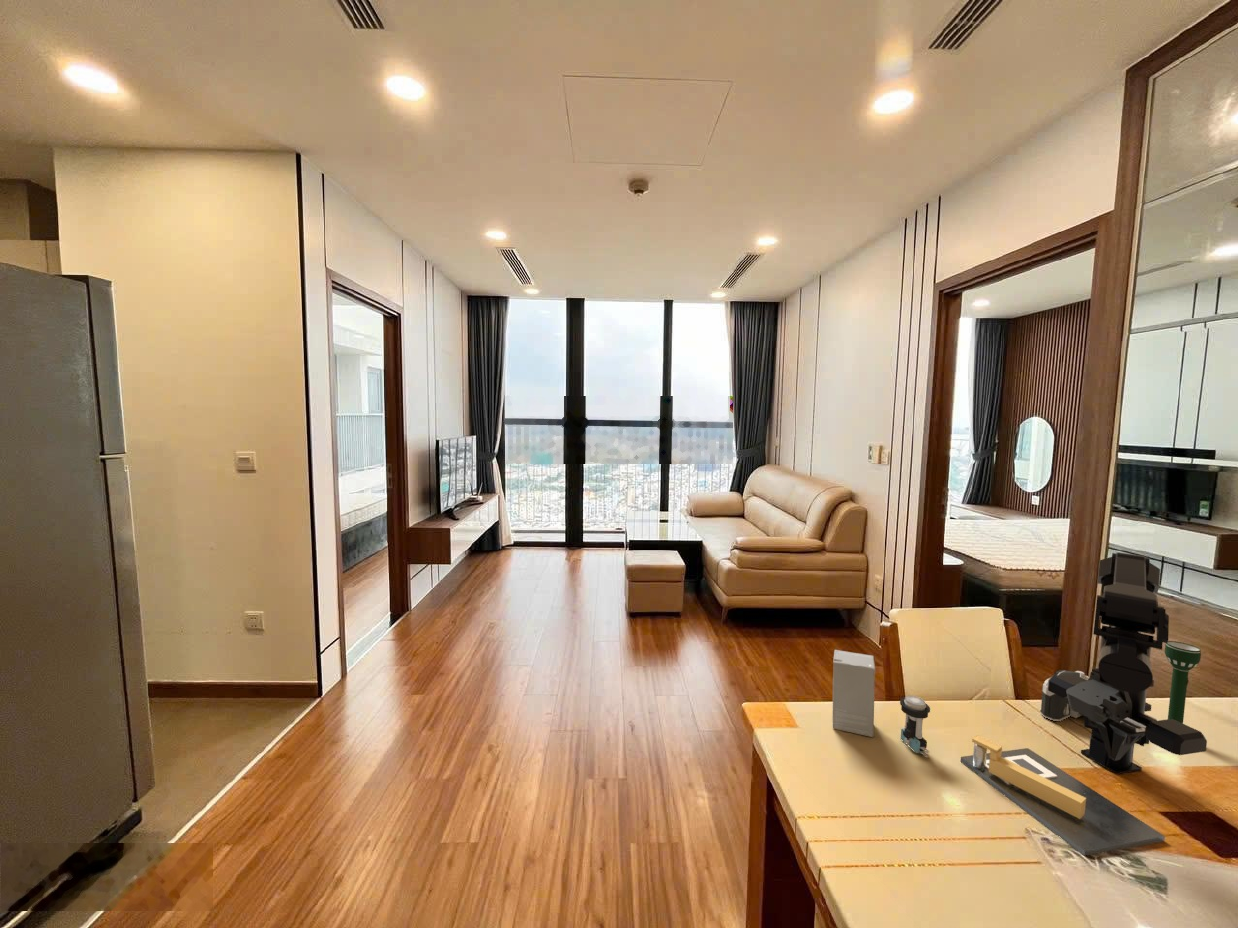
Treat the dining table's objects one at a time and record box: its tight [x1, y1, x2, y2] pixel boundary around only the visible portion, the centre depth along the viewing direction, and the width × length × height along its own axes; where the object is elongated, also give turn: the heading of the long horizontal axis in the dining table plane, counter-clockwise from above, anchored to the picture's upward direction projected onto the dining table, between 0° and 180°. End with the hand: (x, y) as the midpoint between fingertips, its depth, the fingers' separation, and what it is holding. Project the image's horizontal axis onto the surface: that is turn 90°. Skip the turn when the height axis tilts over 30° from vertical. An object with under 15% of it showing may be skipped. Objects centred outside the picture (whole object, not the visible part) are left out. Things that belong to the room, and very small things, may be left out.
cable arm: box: [971, 735, 1086, 819], centre depth 89 cm, size 16×2×5 cm, turn 32°
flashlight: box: [1164, 640, 1202, 724], centre depth 107 cm, size 5×5×20 cm
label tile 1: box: [1005, 755, 1057, 779], centre depth 95 cm, size 5×6×1 cm
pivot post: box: [972, 742, 988, 770], centre depth 95 cm, size 2×2×5 cm
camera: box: [1039, 669, 1090, 722], centre depth 114 cm, size 16×9×10 cm, turn 115°
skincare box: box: [832, 649, 876, 738], centre depth 108 cm, size 8×7×16 cm
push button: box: [899, 695, 931, 758], centre depth 101 cm, size 7×5×10 cm
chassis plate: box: [960, 747, 1166, 857], centre depth 88 cm, size 16×22×1 cm
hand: (1114, 758), depth 82 cm, fingers closed
